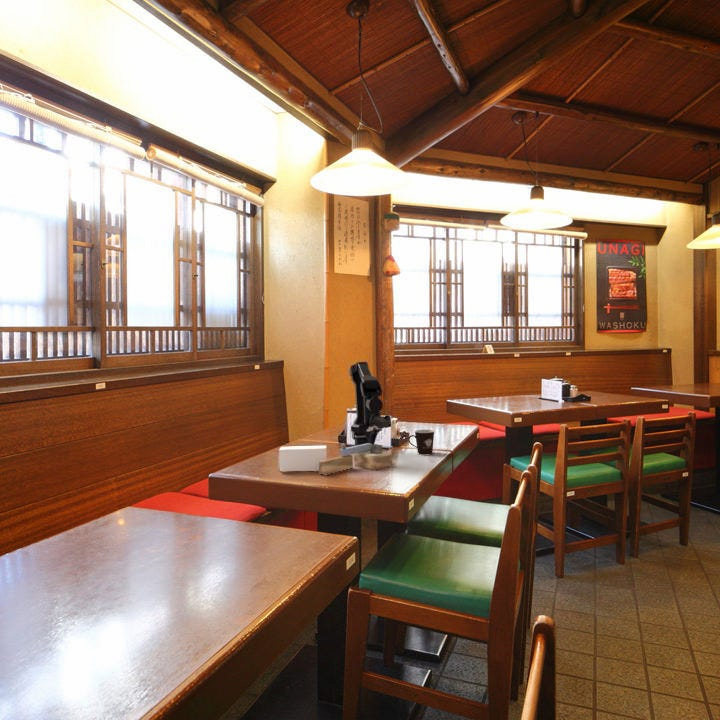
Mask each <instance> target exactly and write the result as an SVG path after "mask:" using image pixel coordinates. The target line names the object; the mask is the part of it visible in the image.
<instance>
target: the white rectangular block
mask: <svg viewBox="0 0 720 720" xmlns="http://www.w3.org/2000/svg"><path fill="white" fill-rule="evenodd" d="M327 447H328V446H327V445H303V446H302V445H297V446H295V445H294V446H292V445H291V446H281V447H280V448H279V449H278V451H279V452H277V468H278V469H280V470H279V472H280V471H314V472H319V461H321V460H326V459H328V457H327Z"/></svg>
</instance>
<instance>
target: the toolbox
mask: <svg viewBox="0 0 720 720" xmlns="http://www.w3.org/2000/svg"><path fill="white" fill-rule="evenodd" d="M353 461H354V462H353V463H354V465H355V466H354V465H353V466H354V467H357V466H359V467H358V468H362V467H363V468H364V469H366V468H367V469H368V470H371V471H377V470H382V469H385V468H389V467H392V466H393V454H391V455H389V456H385V457H380V458H376V459H372V458H367V457H362V456H357V455H355V454H354V455H353ZM363 468H362V469H363Z"/></svg>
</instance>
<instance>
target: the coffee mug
mask: <svg viewBox="0 0 720 720" xmlns="http://www.w3.org/2000/svg"><path fill="white" fill-rule="evenodd" d="M412 437H414V438H415V441H416V442H415V443H416V445H415V444H413V443H412V442H411V441H410V440H411V438H412ZM407 438H408V439H407V441H408V443H409V444H410V445H411V446H413V447H415V448H416V449H417V450H416V451H417V454H418V453H419V454H418V455H420V454H431V455H432V454H433V452H434V451H433V449H434V439H435V430H433V429H416V430H414V434H411V435H409V436H408V437H407Z"/></svg>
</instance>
